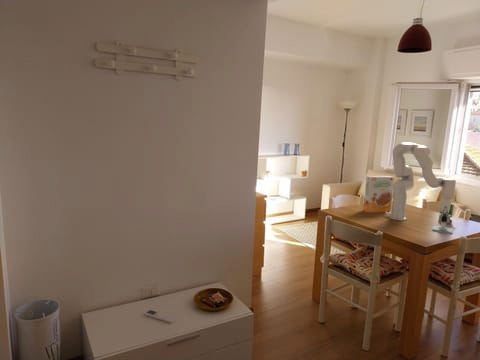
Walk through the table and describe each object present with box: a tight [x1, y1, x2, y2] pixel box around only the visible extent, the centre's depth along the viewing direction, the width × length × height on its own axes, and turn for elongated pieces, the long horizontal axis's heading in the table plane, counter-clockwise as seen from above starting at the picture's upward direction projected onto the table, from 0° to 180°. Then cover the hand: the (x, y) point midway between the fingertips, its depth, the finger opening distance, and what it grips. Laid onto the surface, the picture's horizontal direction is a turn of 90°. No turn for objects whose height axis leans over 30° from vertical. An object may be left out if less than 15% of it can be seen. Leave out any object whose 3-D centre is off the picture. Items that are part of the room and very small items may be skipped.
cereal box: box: [362, 175, 395, 213], centre depth 292 cm, size 22×6×30 cm, turn 104°
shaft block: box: [432, 222, 454, 235], centre depth 245 cm, size 12×12×10 cm
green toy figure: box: [438, 201, 455, 225], centre depth 265 cm, size 10×9×20 cm
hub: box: [438, 213, 451, 223], centre depth 244 cm, size 7×7×5 cm
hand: (444, 220), depth 244 cm, fingers closed on hub, 6 cm apart
